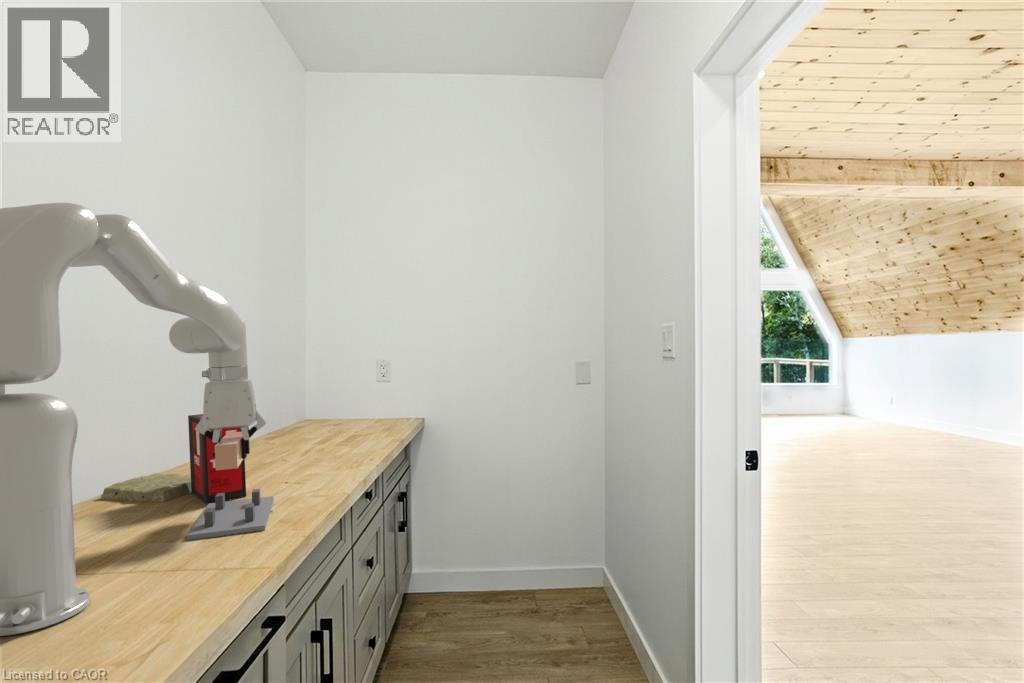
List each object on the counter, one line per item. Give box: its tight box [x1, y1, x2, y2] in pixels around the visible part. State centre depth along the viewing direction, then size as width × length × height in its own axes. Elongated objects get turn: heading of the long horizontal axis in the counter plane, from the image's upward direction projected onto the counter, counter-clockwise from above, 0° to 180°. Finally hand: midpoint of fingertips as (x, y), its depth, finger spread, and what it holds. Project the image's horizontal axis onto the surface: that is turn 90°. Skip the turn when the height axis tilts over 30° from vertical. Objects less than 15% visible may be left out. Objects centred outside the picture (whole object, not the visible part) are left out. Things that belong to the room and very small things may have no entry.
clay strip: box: [215, 432, 243, 470], centre depth 127 cm, size 18×4×5 cm, turn 18°
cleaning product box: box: [187, 413, 247, 505], centre depth 148 cm, size 16×9×20 cm, turn 40°
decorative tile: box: [100, 472, 192, 503], centre depth 153 cm, size 19×20×4 cm
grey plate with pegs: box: [186, 488, 274, 541], centre depth 126 cm, size 24×14×4 cm, turn 18°
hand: (232, 457), depth 127 cm, fingers closed on clay strip, 4 cm apart
